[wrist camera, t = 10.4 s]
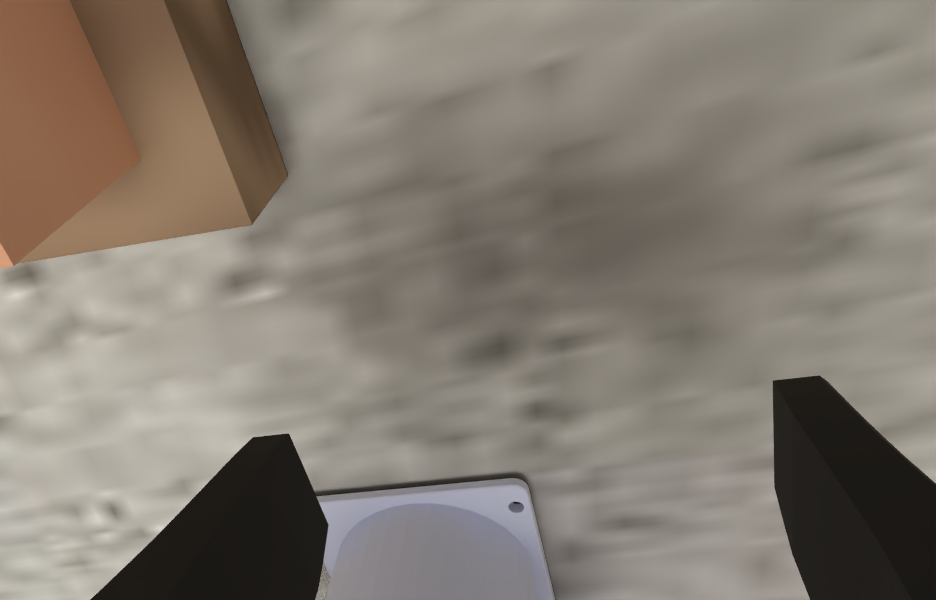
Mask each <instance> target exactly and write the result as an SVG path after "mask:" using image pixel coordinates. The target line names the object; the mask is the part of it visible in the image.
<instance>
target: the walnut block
mask: <svg viewBox="0 0 936 600" xmlns="http://www.w3.org/2000/svg"><path fill="white" fill-rule="evenodd" d="M70 2H71V4H72V7H73V9H74V11H75V13H76V16H77V18H78V20H79V22H80V24H81V27H82V29H83V31H84V33H85V36H86V38H87V40H88V42H89V45H90V47H91V49H92V51H93V53H94V56H95V58H96V60H97V62H98V65H99V67H100V69H101V71H102V74H103V76H104V78H105V80H106V82H107V85H108V87H109V89H110V91H111V94H112V96H113V98H114V100H115V103H116V105H117V107H118V109H119V111H120V114H121V116H122V118H123V120H124V123H125V125H126V127H127V129H128V131H129V134H130V136H131V138H132V140H133V143H134V145H135V147H136V149H137V152H138V154H139V156H140V158H141V160H139V161H138V162H137V163H136V164H135V165H133V166H132V167H131V168H130V169H129V170H128V171H126V172H125V173H124V174H123V175H122V176H120V177H119V178H118V179H117V180H116V181H114V182H113V183H112V184H111V185H110V186H108V187H107V188H106V189H105V190H104V191H103V192H101V193H100V194H99V195H98V196H97V197H95V198H94V199H93V200H92V201H91V202H89V203H88V204H87V205H86V206H85V207H83V208H82V209H81V210H80V211H79V212H77V213H76V214H75V215H74V216H73V217H72V218H70V219H69V220H68V221H67V222H66V223H64V224H63V225H62V226H61V227H60V228H58V229H57V230H56V231H55V232H54V233H52V234H51V235H50V236H49V237H48V238H46V239H45V240H44V241H43V242H42V243H41V244H39V245H38V246H37V247H36V248H35V249H33V250H32V251H31V252H30V253H29V254H27V255H26V256H25V257H24V258H23V259H21V260H20V261H19V262H18V263H24V262H30V261H36V260H42V259H48V258H54V257H60V256H66V255H72V254H79V253H85V252H91V251H97V250H103V249H109V248H115V247H121V246H127V245H133V244H139V243H145V242H151V241H157V240H163V239H169V238H176V237H182V236H188V235H194V234H200V233H206V232H212V231H218V230H224V229H230V228H236V227H242V226H248V225H252V224H253V223H254V221H255V220H256V219H257V217H258V216H259V215H260V213H261V212H262V210H263V209H264V208H265V206H266V205H267V204H268V202H269V201H270V199H271V198H272V197H273V195H274V194H275V193H276V191H277V190H278V188H279V187H280V186H281V184H282V183H283V182H284V180H285V179H286V177H287V176H288V175H287V172H286V169H285V166H284V163H283V161H282V158H281V155H280V152H279V149H278V146H277V144H276V141H275V138H274V135H273V132H272V129H271V127H270V124H269V121H268V118H267V115H266V113H265V110H264V107H263V104H262V101H261V98H260V96H259V93H258V90H257V87H256V84H255V81H254V79H253V76H252V73H251V70H250V67H249V64H248V62H247V59H246V56H245V53H244V50H243V48H242V45H241V42H240V39H239V36H238V33H237V31H236V28H235V25H234V22H233V19H232V16H231V14H230V11H229V8H228V5H227V2H226V0H70ZM18 263H17V264H18Z"/></svg>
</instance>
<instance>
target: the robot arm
mask: <svg viewBox="0 0 936 600" xmlns="http://www.w3.org/2000/svg"><path fill="white" fill-rule="evenodd" d="M773 419H774V482H775V491H776V494H777V498H778V502H779V506H780V510H781V514H782V517H783V521H784V525H785V529H786V532H787V536H788V539H789V543H790V547H791V550H792V554H793V557H794V559H795V562H796V564H797V567H798V570H799V572H800V575H801V577H802V580H803V582H804V585H805V587H806V590H807V592H808V595H809V597H810V600H936V483H934V482H933V481H932V480H931V479H930V478H929V477H928V476H926V475H925V474H924V473H923V472H922V471H921V470H920V469H918V468H917V467H916V466H915V465H914V464H913V463H912V462H910V461H909V460H908V459H907V458H906V457H905V456H904V455H903V454H901V453H900V452H899V451H898V450H897V449H896V448H895V447H894V446H893V445H892V444H891V443H889V442H888V441H887V440H886V439H885V438H884V437H883V436H882V435H881V434H880V433H879V432H878V431H877V430H876V429H875V428H874V427H873V426H872V425H870V424H869V423H868V422H867V421H866V420H865V419H864V418H863V417H862V416H861V415H860V414H859V413H858V412H857V411H856V410H855V409H854V408H853V407H852V406H851V405H850V404H849V403H848V402H847V401H846V400H845V399H844V398H843V397H842V396H841V395H840V394H839V393H838V392H837V391H836V390H835V389H834V388H833V387H832V386H831V385H830V384H829V383H828V382H827V381H826V380H825V379H823V378H822V377H821V376H812V377H803V378H794V379H784V380H775V381H773ZM512 502H520V504H513V503H512ZM323 562H324V565H325V567H326V569H327V571H328V573H329V576H330V578H331V580H330V584H329V587H328V591H327V594H326V598H325V600H555V596H554V592H553V588H552V584H551V580H550V575H549V571H548V567H547V563H546V559H545V554H544V550H543V546H542V542H541V537H540V533H539V529H538V525H537V521H536V516H535V512H534V508H533V504H532V500H531V495H530V491H529V487H528V485H527V484H526V483H525V482H524V481H523V480H520V479H517V478H507V479H496V480H486V481H475V482H464V483H454V484H443V485H433V486H422V487H411V488H401V489H390V490H379V491H369V492H358V493H348V494H337V495H326V496H316V495H315V492H314V490H313V488H312V485H311V483H310V481H309V479H308V476H307V474H306V472H305V469H304V467H303V465H302V462H301V460H300V458H299V456H298V453H297V451H296V449H295V446H294V444H293V442H292V439H291V437H290V435H289V434H280V435H271V436H262V437H253V438H252V439H251V440H250V441H249V442H248V443H247V444H246V445H245V446H243V447H242V448H241V449H240V450H239V451H238V452H237V453H236V454H235V455H234V456H233V457H232V458H231V460H230V461H229V462H228V463H227V464H226V465H225V466H224V467H223V468H222V469H221V470H220V471H219V472H218V473H217V474H216V475H215V476H214V477H213V478H212V479H211V480H210V481H209V482H208V484H207V485H206V486H205V487H204V488H203V489H202V490H201V491H200V492H199V493H198V494H197V495H196V496H195V497H194V498H193V499H192V500H191V501H190V502H189V503H188V504H187V505H186V506H185V508H184V509H183V510H182V511H181V512H180V513H179V514H178V515H177V516H176V517H175V518H174V519H173V520H172V521H171V522H170V523H169V524H168V525H167V526H166V527H165V528H164V529H163V530H162V531H161V532H160V533H159V534H158V535H157V536H156V537H155V538H154V539H153V540H152V541H151V542H150V543H149V544H148V545H147V546H146V547H145V548H144V549H143V550H142V551H141V552H140V553H139V554H138V555H137V556H136V557H135V558H134V559H133V560H132V561H131V562H130V563H129V564H128V565H126V566H125V567H124V568H123V569H122V570H121V571H120V572H119V573H118V574H117V575H116V576H115V577H114V578H113V579H112V580H111V581H110V582H109V583H108V584H107V585H106V586H105V587H104V588H103V589H101V590H100V591H99V592H98V593H97V594H96V595H95V596H94V597H93V598H92V599H91V600H315V598H316V594H317V591H318V587H319V582H320V576H321V571H322V565H323Z"/></svg>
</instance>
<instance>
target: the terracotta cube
mask: <svg viewBox="0 0 936 600" xmlns="http://www.w3.org/2000/svg"><path fill="white" fill-rule="evenodd" d="M139 160H141V158H140V156H139V154H138V152H137V149H136V147H135V145H134V143H133V140H132V138H131V136H130V134H129V131H128V129H127V127H126V125H125V123H124V120H123V118H122V116H121V114H120V111H119V109H118V107H117V105H116V103H115V100H114V98H113V96H112V94H111V91H110V89H109V87H108V85H107V82H106V80H105V78H104V76H103V74H102V71H101V69H100V67H99V65H98V62H97V60H96V58H95V56H94V53H93V51H92V49H91V47H90V45H89V42H88V40H87V38H86V36H85V33H84V31H83V29H82V27H81V24H80V22H79V20H78V18H77V16H76V13H75V11H74V9H73V7H72V4H71V2H70V0H0V268H4V267H11V266H14V265H16V264H17V263H18V262H19V261H20V260H21V259H23V258H24V257H25V256H26V255H27V254H29V253H30V252H31V251H32V250H33V249H35V248H36V247H37V246H38V245H39V244H41V243H42V242H43V241H44V240H45V239H46V238H48V237H49V236H50V235H51V234H52V233H54V232H55V231H56V230H57V229H58V228H60V227H61V226H62V225H63V224H64V223H66V222H67V221H68V220H69V219H70V218H72V217H73V216H74V215H75V214H76V213H77V212H79V211H80V210H81V209H82V208H83V207H85V206H86V205H87V204H88V203H89V202H91V201H92V200H93V199H94V198H95V197H97V196H98V195H99V194H100V193H101V192H103V191H104V190H105V189H106V188H107V187H108V186H110V185H111V184H112V183H113V182H114V181H116V180H117V179H118V178H119V177H120V176H122V175H123V174H124V173H125V172H126V171H128V170H129V169H130V168H131V167H132V166H133V165H135V164H136V163H137V162H138V161H139Z"/></svg>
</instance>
